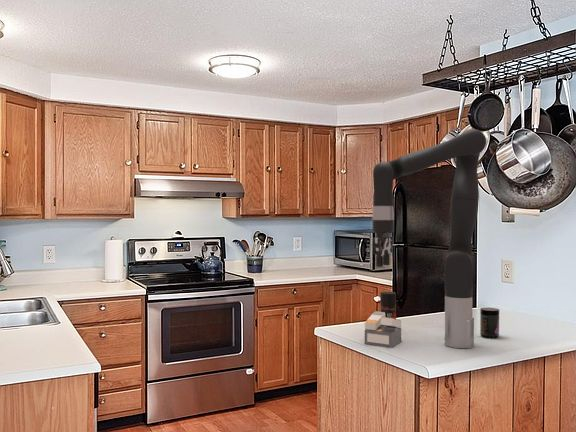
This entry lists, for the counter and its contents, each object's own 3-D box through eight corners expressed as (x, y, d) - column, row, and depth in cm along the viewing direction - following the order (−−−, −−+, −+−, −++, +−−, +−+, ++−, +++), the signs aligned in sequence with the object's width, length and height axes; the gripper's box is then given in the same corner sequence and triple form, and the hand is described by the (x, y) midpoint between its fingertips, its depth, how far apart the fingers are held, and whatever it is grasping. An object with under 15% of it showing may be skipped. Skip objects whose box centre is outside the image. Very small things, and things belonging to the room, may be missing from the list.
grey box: (401, 341, 193) (401, 325, 193) (391, 347, 184) (391, 330, 184) (375, 338, 198) (375, 322, 198) (364, 344, 189) (364, 327, 189)
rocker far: (385, 318, 196) (384, 312, 195) (375, 330, 188) (375, 323, 187) (375, 317, 198) (374, 311, 197) (365, 329, 190) (364, 322, 189)
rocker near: (400, 327, 192) (401, 320, 193) (391, 325, 184) (392, 318, 185) (390, 326, 194) (390, 318, 195) (380, 324, 186) (381, 316, 187)
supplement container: (494, 340, 195) (494, 311, 195) (476, 336, 200) (476, 309, 200) (502, 336, 200) (502, 309, 200) (485, 334, 205) (485, 306, 205)
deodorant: (384, 333, 206) (384, 294, 206) (378, 329, 212) (378, 292, 212) (398, 332, 208) (398, 293, 208) (391, 328, 214) (391, 291, 214)
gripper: (386, 219, 183) (386, 268, 183) (400, 218, 195) (400, 264, 195) (365, 219, 186) (365, 267, 187) (380, 218, 199) (380, 263, 199)
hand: (383, 265), depth 191 cm, fingers open, 6 cm apart
